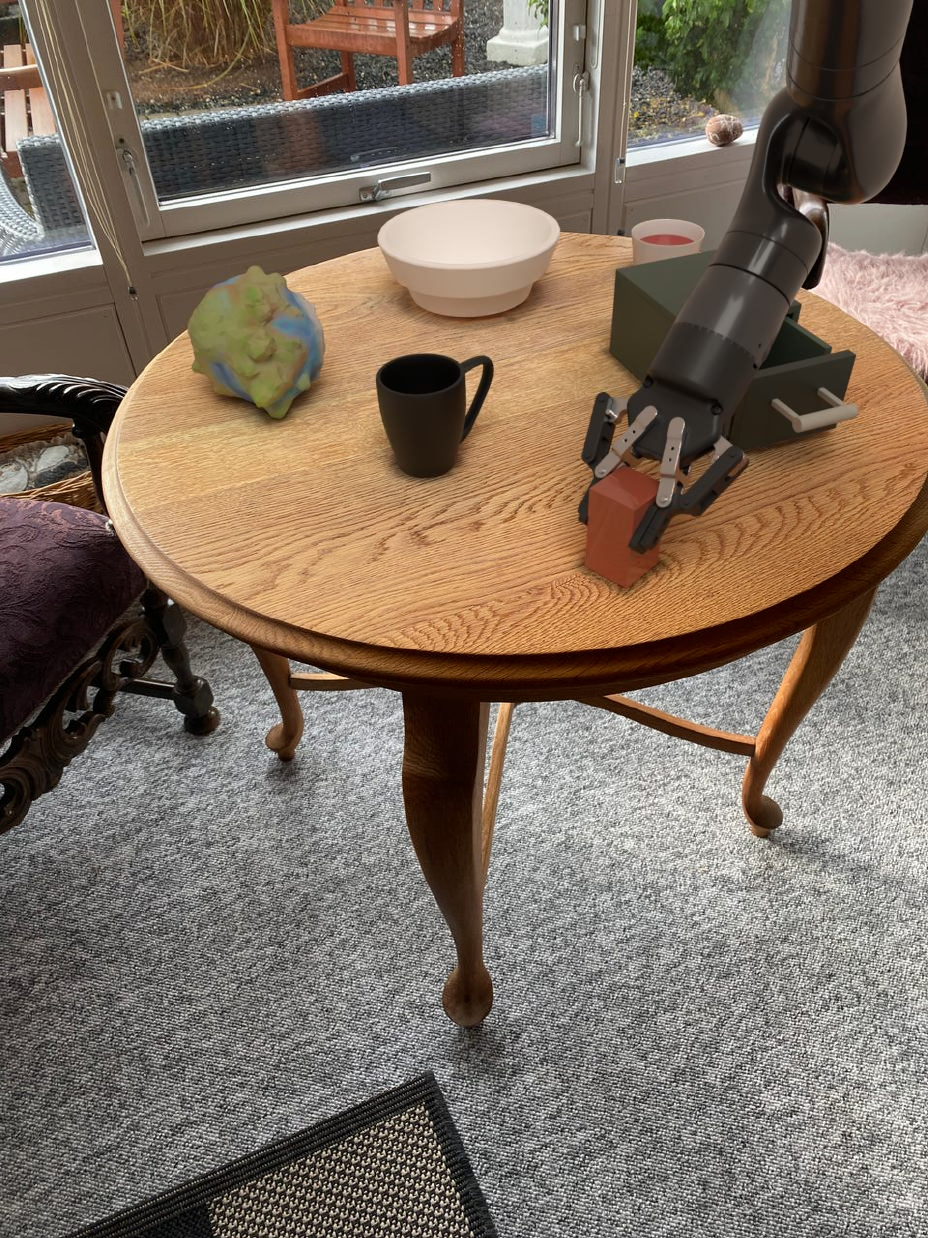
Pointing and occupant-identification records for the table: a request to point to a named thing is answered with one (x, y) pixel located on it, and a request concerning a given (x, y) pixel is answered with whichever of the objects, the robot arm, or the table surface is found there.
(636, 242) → the candle
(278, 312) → the decorative rock
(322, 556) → the table surface
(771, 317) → the robot arm
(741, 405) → the drawer
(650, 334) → the cabinet
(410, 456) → the mug
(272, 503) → the table surface
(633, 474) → the block
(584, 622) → the table surface
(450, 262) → the bowl
